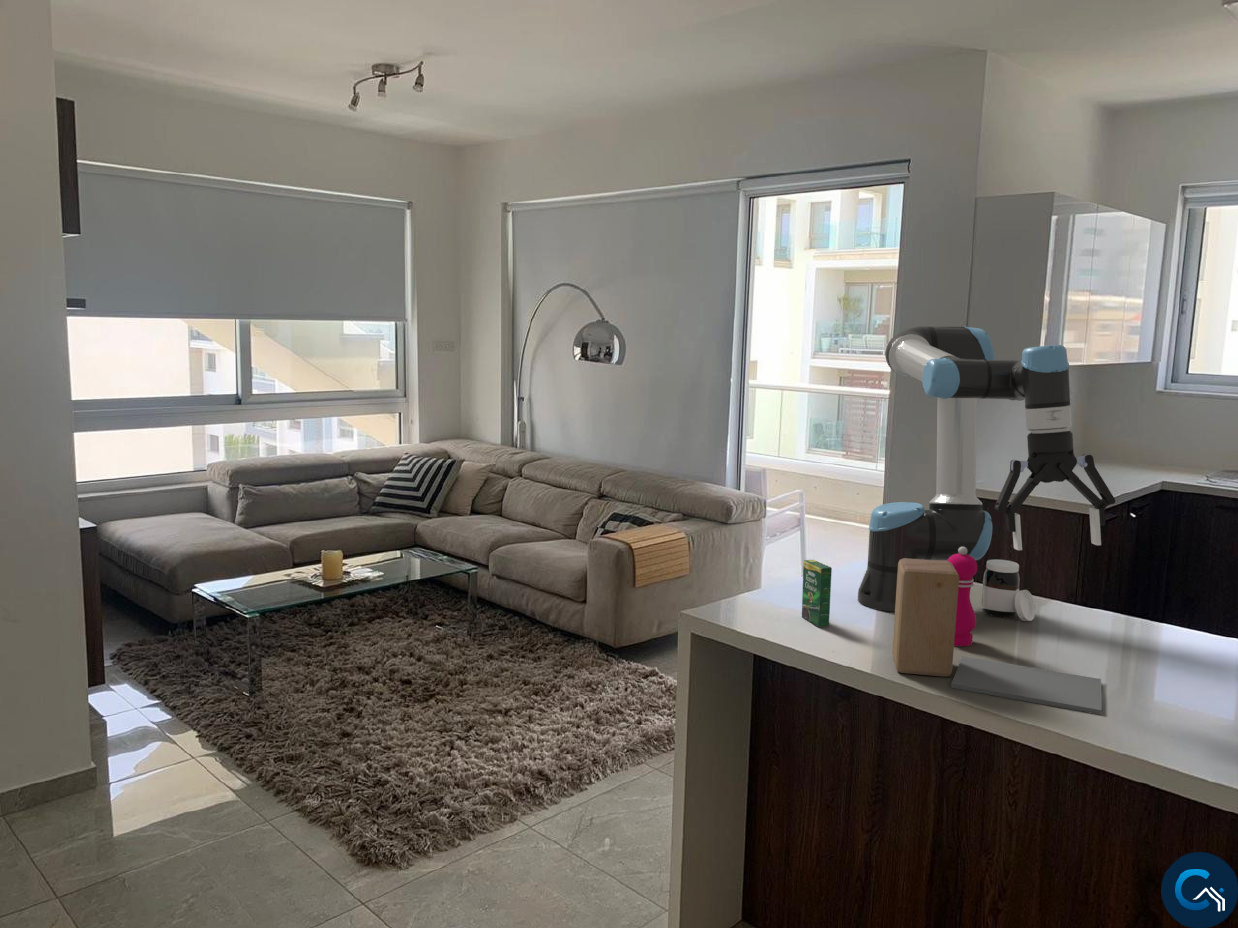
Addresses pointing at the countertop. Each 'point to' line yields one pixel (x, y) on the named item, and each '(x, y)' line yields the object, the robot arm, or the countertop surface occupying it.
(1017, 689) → the mat
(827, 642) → the countertop surface
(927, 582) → the wooden block
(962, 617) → the pepper mill
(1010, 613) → the spread jar
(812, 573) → the coffee box
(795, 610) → the countertop surface
